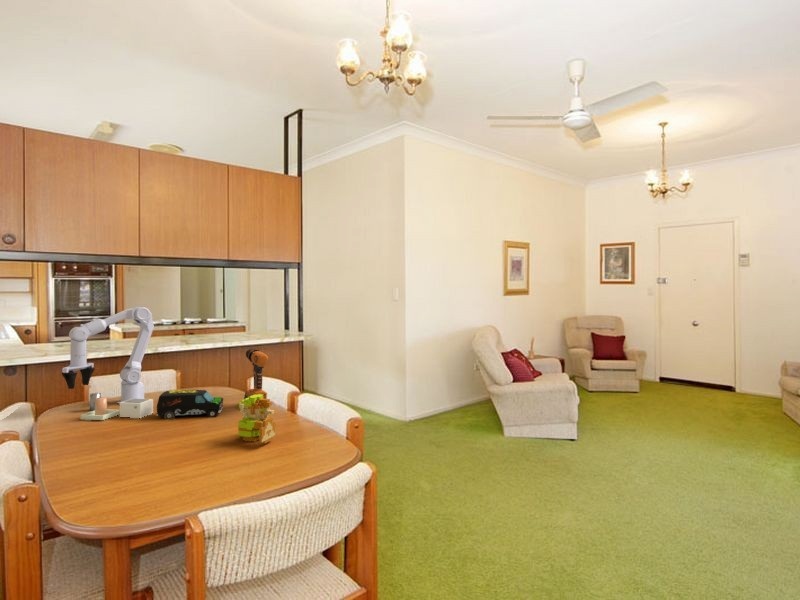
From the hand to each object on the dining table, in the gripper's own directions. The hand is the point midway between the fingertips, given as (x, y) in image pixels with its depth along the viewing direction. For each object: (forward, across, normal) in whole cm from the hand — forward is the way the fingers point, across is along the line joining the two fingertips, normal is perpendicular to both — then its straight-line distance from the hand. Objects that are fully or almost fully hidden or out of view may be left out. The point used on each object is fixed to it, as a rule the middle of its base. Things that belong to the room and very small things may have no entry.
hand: (78, 386), depth 200 cm
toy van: (+10, -1, +51) cm, 52 cm away
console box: (+10, +4, +30) cm, 32 cm away
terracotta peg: (+9, +9, +18) cm, 22 cm away
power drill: (+10, -22, +69) cm, 73 cm away
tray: (+10, +9, +18) cm, 22 cm away
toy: (+10, +25, +91) cm, 95 cm away
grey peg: (+10, -1, +7) cm, 12 cm away
